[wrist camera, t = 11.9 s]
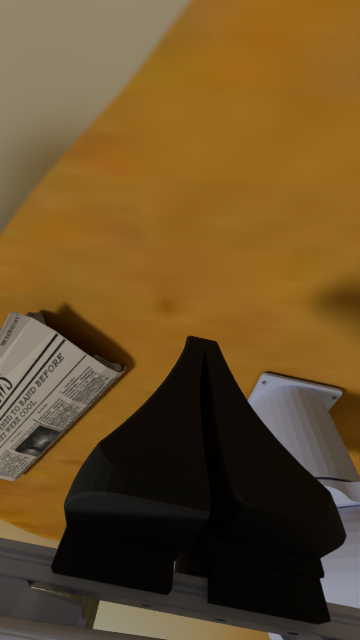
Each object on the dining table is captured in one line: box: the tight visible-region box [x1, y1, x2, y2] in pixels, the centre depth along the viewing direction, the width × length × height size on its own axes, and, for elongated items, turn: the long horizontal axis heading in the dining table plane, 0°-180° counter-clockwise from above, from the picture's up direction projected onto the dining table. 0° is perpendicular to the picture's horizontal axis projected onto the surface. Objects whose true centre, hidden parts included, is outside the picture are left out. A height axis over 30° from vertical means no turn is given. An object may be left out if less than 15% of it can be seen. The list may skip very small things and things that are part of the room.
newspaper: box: [0, 312, 126, 481], centre depth 30 cm, size 35×12×4 cm, turn 141°
